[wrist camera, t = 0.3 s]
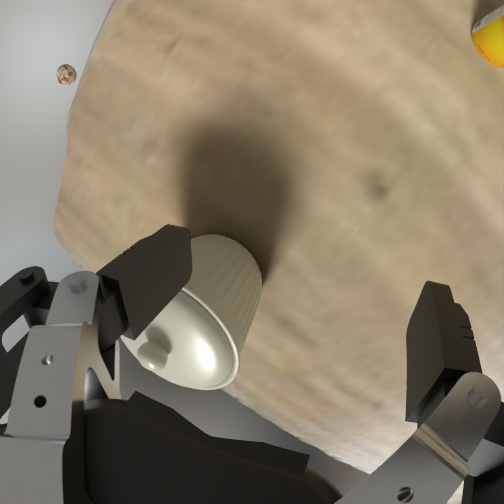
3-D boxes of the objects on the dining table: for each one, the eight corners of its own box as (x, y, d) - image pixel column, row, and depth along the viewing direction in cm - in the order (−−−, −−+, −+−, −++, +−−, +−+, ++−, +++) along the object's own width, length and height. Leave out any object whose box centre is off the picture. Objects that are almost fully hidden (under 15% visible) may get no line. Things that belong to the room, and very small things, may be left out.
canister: (178, 298, 55) (105, 378, 37) (172, 204, 46) (68, 273, 28) (274, 328, 50) (222, 434, 32) (289, 228, 41) (221, 335, 23)
